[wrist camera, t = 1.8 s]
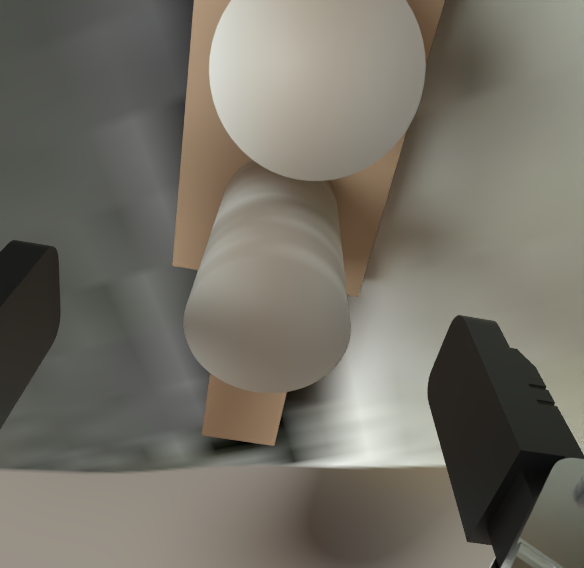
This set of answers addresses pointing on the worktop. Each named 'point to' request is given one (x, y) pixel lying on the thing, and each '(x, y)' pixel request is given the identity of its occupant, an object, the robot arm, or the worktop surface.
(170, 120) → the worktop surface
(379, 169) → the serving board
